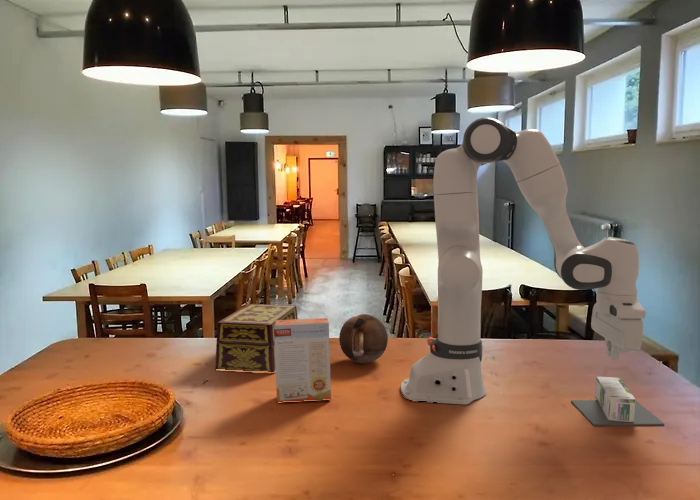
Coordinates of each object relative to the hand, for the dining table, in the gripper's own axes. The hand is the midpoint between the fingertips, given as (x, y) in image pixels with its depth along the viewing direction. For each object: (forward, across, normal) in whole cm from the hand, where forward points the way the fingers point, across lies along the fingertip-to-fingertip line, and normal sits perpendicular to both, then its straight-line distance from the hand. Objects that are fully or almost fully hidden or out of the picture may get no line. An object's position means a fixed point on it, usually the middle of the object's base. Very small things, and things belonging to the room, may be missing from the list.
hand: (612, 357), depth 143 cm
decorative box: (+14, -38, -94) cm, 103 cm away
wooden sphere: (+13, -34, -62) cm, 71 cm away
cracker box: (+13, -4, -77) cm, 79 cm away
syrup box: (+8, -2, 0) cm, 9 cm away
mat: (+12, +6, -1) cm, 13 cm away
